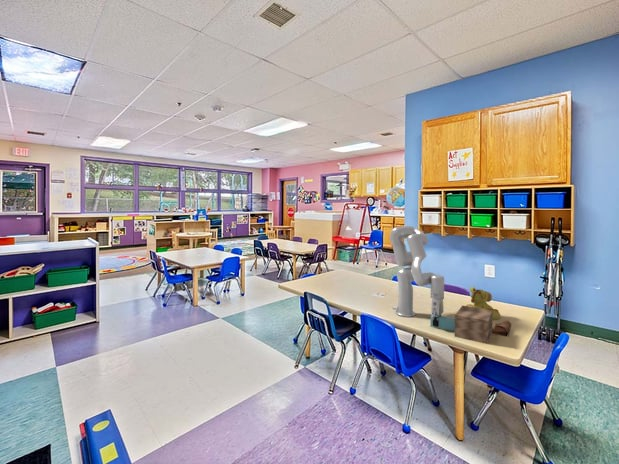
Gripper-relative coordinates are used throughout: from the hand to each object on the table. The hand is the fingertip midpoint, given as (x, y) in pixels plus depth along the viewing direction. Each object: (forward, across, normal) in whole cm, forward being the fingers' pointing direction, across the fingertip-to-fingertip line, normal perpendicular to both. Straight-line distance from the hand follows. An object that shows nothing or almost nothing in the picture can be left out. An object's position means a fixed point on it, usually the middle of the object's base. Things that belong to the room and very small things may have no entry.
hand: (436, 324), depth 184 cm
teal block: (+1, 0, -4) cm, 4 cm away
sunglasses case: (+2, +16, -32) cm, 36 cm away
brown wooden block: (+1, 0, -20) cm, 20 cm away
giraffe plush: (+2, +35, -19) cm, 40 cm away
